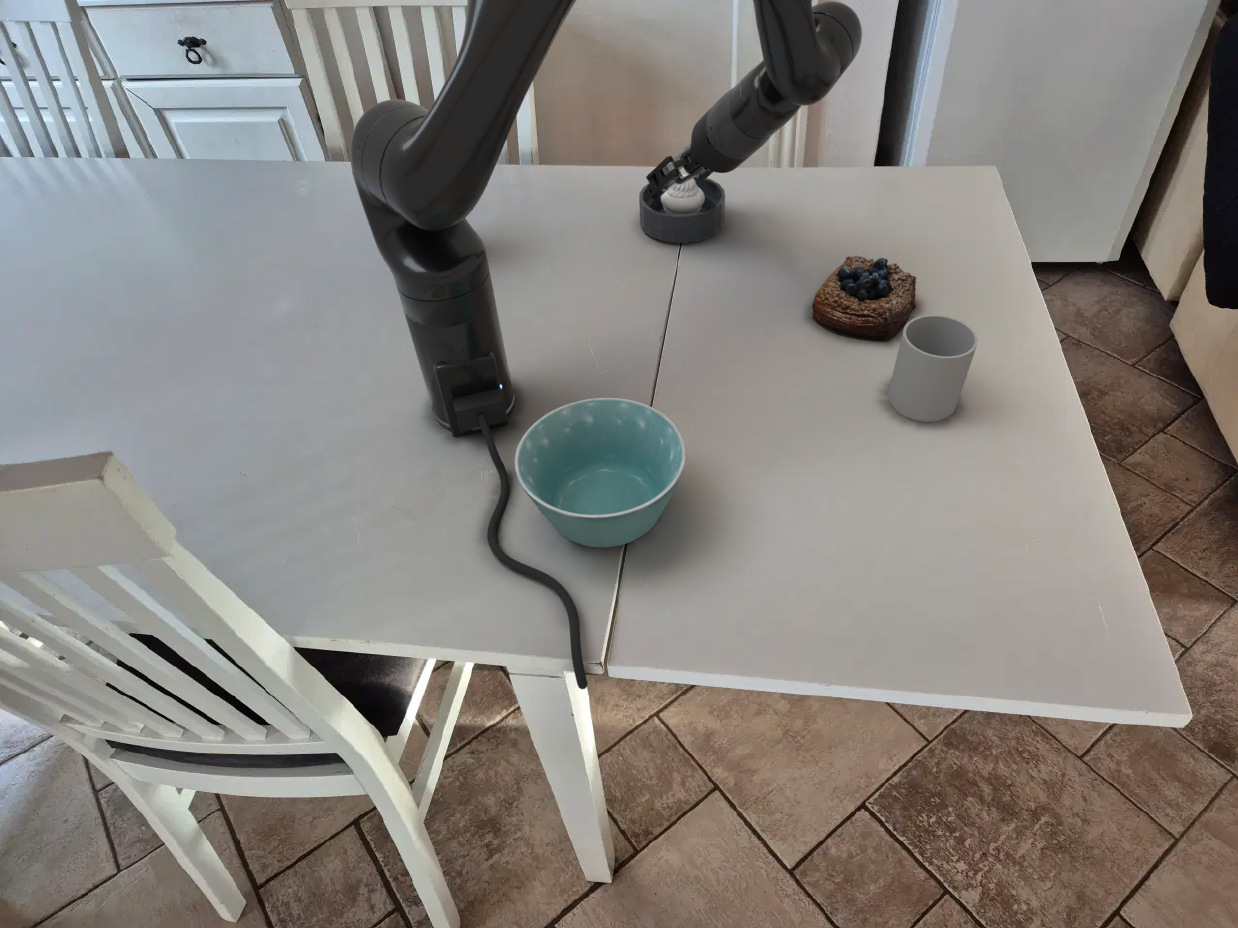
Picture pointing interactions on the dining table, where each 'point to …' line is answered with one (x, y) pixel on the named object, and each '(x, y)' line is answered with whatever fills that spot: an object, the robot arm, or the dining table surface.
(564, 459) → the bowl
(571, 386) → the dining table surface
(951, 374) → the cup
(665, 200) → the white cupcake
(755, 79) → the robot arm
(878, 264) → the pastry
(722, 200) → the grey shallow dish
